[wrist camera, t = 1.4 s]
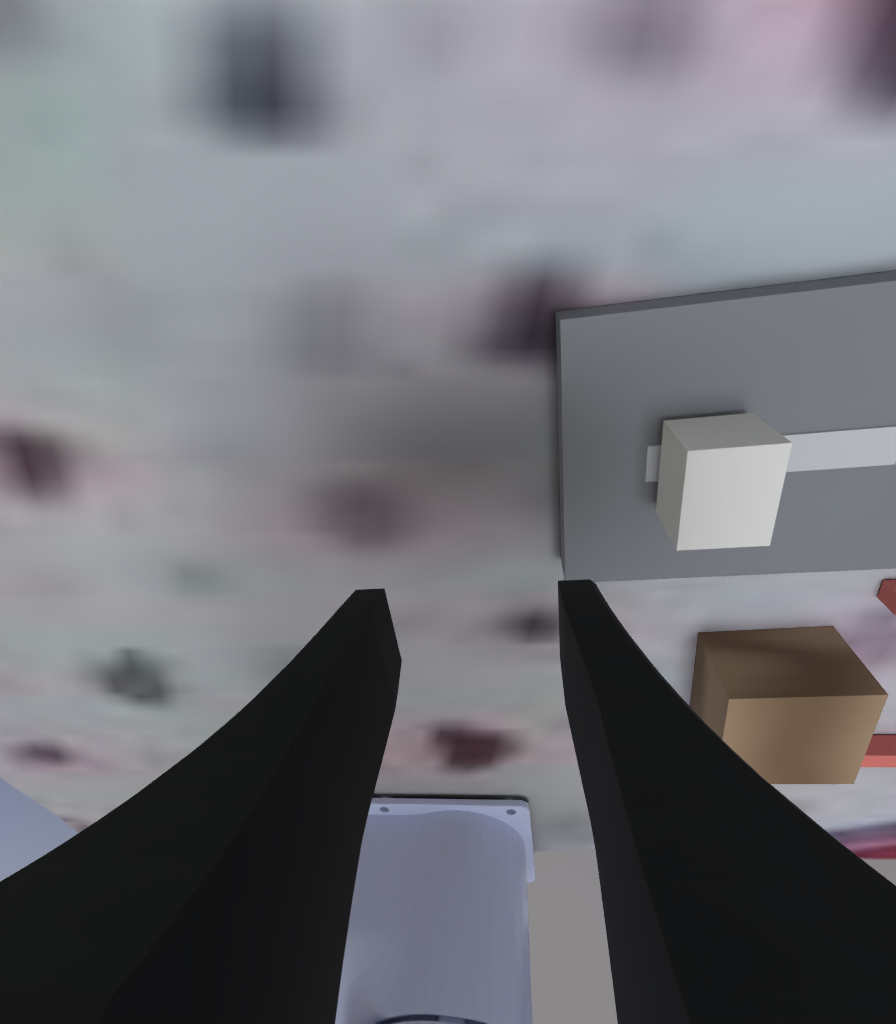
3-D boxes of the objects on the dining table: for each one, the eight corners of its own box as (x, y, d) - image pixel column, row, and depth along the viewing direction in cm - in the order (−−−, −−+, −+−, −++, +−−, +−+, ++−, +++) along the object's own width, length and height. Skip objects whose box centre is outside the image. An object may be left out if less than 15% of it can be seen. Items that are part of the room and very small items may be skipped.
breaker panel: (561, 558, 19) (565, 584, 18) (555, 311, 15) (560, 320, 14) (910, 540, 18) (944, 568, 16) (1018, 255, 13) (1077, 260, 12)
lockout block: (687, 710, 23) (715, 784, 20) (696, 629, 21) (728, 699, 18) (807, 707, 22) (853, 783, 19) (830, 623, 20) (888, 694, 17)
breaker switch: (656, 511, 16) (676, 550, 14) (663, 420, 14) (687, 451, 13) (737, 505, 16) (770, 545, 14) (753, 412, 14) (792, 442, 12)
